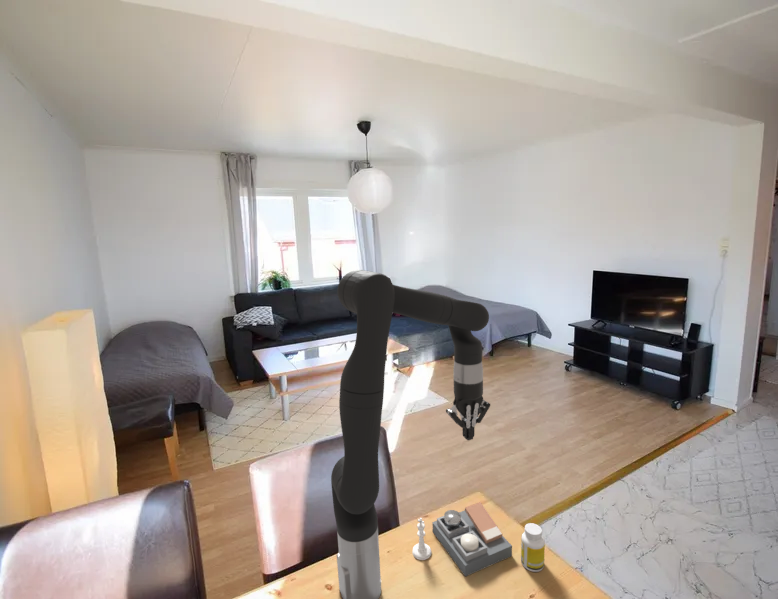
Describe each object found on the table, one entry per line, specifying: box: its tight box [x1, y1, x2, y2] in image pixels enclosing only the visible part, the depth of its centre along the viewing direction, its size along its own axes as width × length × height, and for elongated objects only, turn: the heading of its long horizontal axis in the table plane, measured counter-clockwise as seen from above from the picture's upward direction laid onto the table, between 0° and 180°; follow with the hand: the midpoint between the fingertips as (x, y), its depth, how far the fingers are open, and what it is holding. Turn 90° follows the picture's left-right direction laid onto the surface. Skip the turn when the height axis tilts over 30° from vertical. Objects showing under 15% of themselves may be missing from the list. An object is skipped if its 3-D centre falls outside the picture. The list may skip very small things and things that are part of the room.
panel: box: [431, 509, 513, 577], centre depth 107 cm, size 14×16×4 cm
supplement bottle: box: [520, 522, 546, 573], centre depth 99 cm, size 5×5×10 cm
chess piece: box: [412, 517, 432, 561], centre depth 104 cm, size 5×5×10 cm
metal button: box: [443, 509, 461, 528], centre depth 108 cm, size 4×4×2 cm
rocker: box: [464, 501, 504, 544], centre depth 108 cm, size 5×10×1 cm, turn 23°
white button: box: [461, 534, 479, 553], centre depth 101 cm, size 4×4×2 cm
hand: (468, 438), depth 108 cm, fingers closed
